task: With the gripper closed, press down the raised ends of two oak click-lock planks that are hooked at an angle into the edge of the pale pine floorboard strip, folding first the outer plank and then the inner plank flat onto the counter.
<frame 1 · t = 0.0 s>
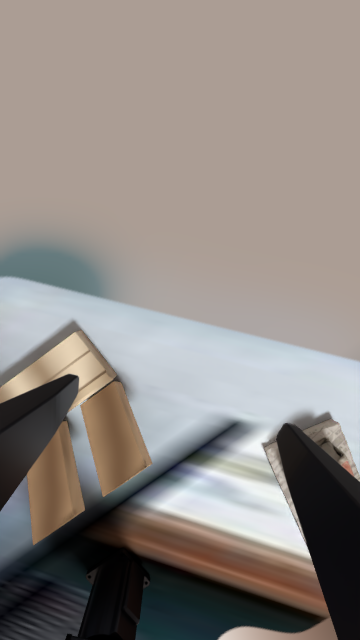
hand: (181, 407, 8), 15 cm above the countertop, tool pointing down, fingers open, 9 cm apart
outer oak plank: (113, 431, 21), point 4 cm above the countertop, hinge at 35.0°
pine floorboard strip: (55, 385, 24), on the countertop
packaged product: (317, 483, 27), on the countertop
inner oak plank: (52, 475, 21), point 4 cm above the countertop, hinge at 35.0°
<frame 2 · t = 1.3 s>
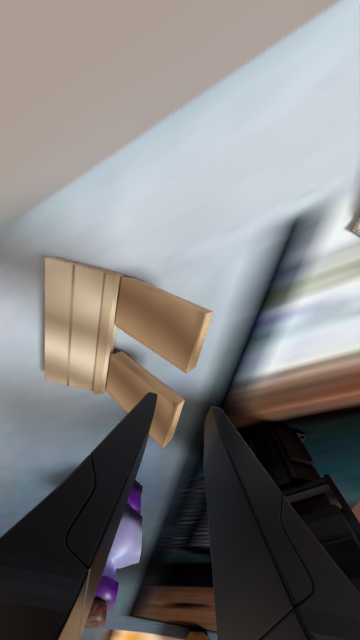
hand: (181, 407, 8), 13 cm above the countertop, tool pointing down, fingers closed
outer oak plank: (156, 319, 17), point 4 cm above the countertop, hinge at 35.0°
potion bottle: (126, 486, 31), on the countertop
pine floorboard strip: (85, 328, 21), on the countertop
potato: (199, 630, 50), on the countertop
inner oak plank: (140, 394, 20), point 4 cm above the countertop, hinge at 35.0°
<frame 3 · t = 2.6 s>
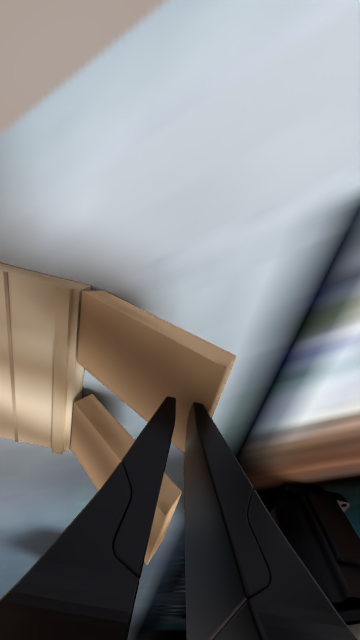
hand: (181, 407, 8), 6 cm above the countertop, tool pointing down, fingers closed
outer oak plank: (139, 359, 11), point 3 cm above the countertop, hinge at 31.0°, touching gripper
pine floorboard strip: (39, 362, 15), on the countertop
inner oak plank: (115, 466, 13), point 4 cm above the countertop, hinge at 35.0°
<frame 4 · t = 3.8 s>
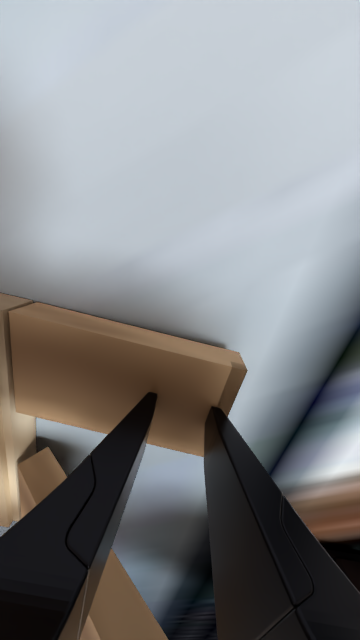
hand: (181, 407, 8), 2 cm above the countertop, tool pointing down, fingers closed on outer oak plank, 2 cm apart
outer oak plank: (126, 382, 9), point 1 cm above the countertop, hinge at 2.3°, touching gripper
inner oak plank: (74, 562, 9), point 4 cm above the countertop, hinge at 35.0°
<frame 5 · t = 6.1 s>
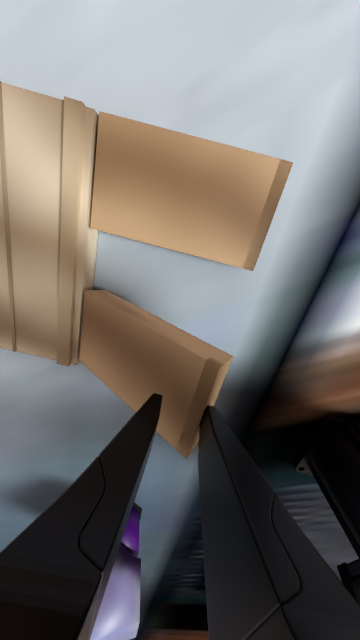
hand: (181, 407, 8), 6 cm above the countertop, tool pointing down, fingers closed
outer oak plank: (183, 201, 10), point 1 cm above the countertop, hinge at 2.3°
potion bottle: (118, 508, 22), on the countertop
pine floorboard strip: (41, 249, 12), on the countertop
inner oak plank: (138, 358, 11), point 4 cm above the countertop, hinge at 33.6°, touching gripper
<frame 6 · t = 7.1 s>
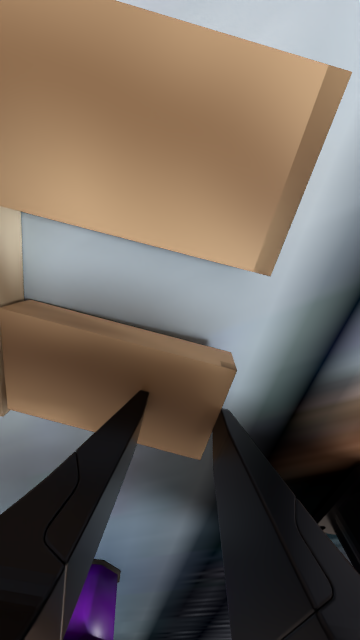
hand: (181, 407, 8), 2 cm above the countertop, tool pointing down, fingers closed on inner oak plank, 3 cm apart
outer oak plank: (152, 158, 6), point 1 cm above the countertop, hinge at 2.3°
potion bottle: (91, 570, 17), on the countertop
inner oak plank: (116, 381, 9), point 1 cm above the countertop, hinge at 4.6°, touching gripper
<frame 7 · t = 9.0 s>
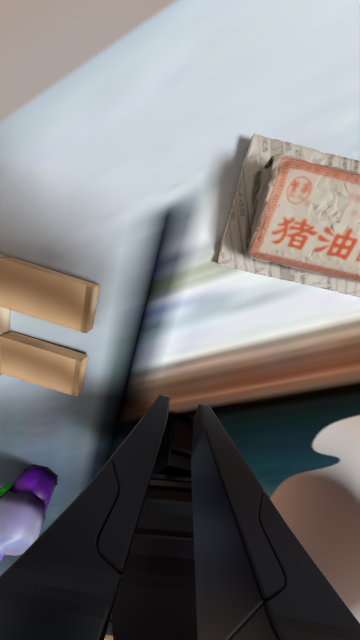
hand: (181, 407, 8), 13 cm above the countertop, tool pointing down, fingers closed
outer oak plank: (49, 295, 20), point 1 cm above the countertop, hinge at 2.3°
potion bottle: (41, 475, 31), on the countertop
packaged product: (320, 231, 18), on the countertop
inner oak plank: (44, 364, 22), point 1 cm above the countertop, hinge at 2.6°
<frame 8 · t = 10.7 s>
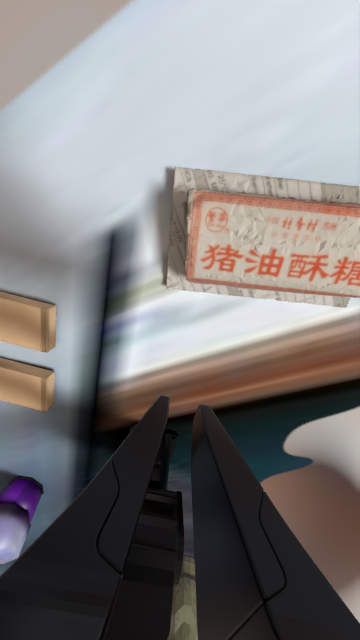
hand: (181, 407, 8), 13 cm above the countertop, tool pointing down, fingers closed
outer oak plank: (9, 318, 20), point 1 cm above the countertop, hinge at 2.3°
potion bottle: (28, 485, 32), on the countertop
packaged product: (263, 245, 18), on the countertop
inner oak plank: (13, 382, 23), point 1 cm above the countertop, hinge at 2.6°
olive stone statue: (179, 564, 39), on the countertop
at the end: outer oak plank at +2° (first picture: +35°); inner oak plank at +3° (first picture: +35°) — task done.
